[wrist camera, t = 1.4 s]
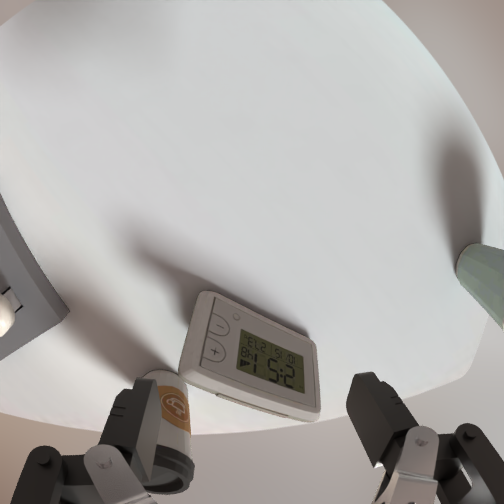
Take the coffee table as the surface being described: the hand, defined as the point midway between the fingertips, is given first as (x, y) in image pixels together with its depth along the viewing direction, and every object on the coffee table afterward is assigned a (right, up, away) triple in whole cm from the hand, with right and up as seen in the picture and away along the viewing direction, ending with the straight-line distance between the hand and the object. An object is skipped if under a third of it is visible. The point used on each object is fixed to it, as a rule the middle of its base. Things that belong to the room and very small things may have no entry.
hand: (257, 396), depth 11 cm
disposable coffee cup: (+32, +4, +26) cm, 41 cm away
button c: (-29, 0, +16) cm, 34 cm away
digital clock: (0, -4, +24) cm, 24 cm away
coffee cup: (-12, -12, +25) cm, 30 cm away
